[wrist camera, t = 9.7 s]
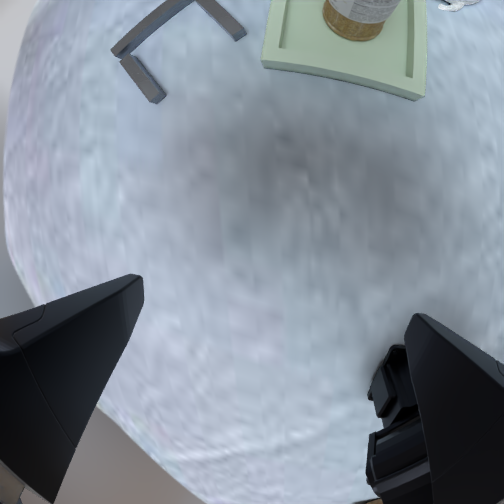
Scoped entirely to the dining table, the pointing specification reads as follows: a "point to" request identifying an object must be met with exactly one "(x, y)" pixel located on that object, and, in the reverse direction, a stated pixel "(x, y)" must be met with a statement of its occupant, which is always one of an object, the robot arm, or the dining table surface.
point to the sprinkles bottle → (358, 17)
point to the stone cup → (376, 502)
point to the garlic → (456, 4)
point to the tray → (350, 47)
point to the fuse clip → (153, 21)
